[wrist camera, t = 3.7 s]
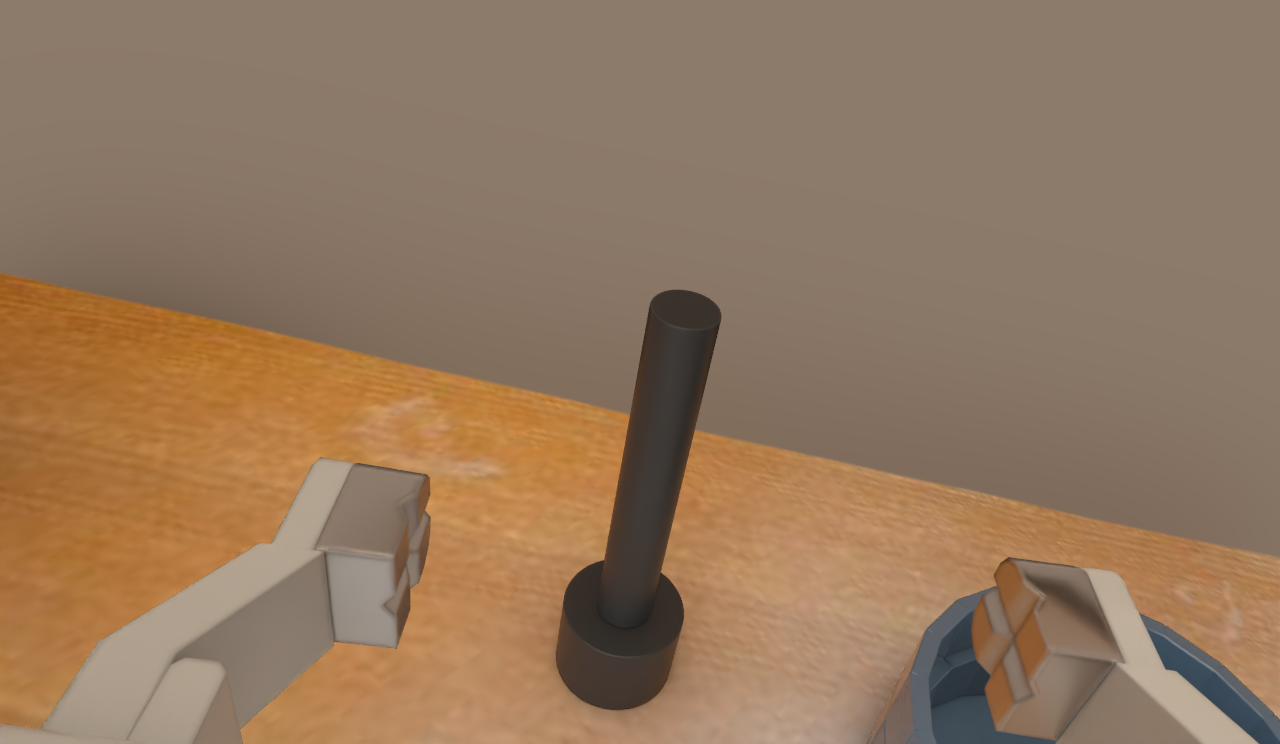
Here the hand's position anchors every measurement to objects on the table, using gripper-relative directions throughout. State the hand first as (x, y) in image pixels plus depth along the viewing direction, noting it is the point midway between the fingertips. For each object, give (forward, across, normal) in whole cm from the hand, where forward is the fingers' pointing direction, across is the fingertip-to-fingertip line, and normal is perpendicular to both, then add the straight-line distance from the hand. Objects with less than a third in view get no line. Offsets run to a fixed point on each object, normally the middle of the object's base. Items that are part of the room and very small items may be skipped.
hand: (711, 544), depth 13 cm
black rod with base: (+12, 0, +20) cm, 24 cm away
